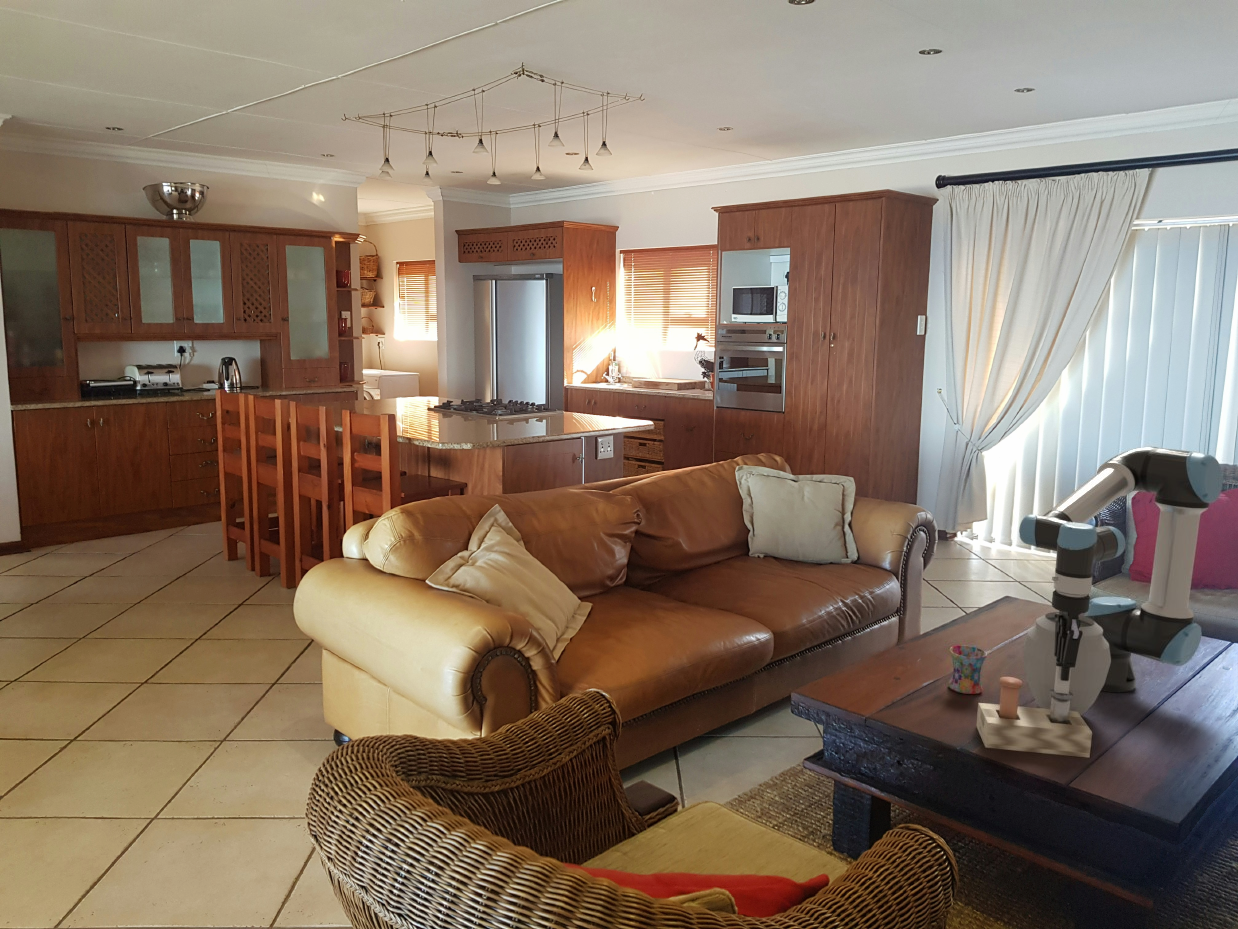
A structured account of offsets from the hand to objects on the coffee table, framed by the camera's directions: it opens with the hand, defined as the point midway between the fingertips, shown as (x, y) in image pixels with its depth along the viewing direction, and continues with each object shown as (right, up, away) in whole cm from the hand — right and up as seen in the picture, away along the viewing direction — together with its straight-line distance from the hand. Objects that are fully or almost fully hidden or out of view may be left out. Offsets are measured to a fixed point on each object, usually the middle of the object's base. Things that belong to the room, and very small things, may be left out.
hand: (1061, 691), depth 208 cm
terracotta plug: (-11, -7, +3) cm, 13 cm away
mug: (-9, -7, +33) cm, 35 cm away
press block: (-5, -12, +3) cm, 14 cm away
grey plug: (0, -9, +2) cm, 9 cm away
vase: (+9, -10, +19) cm, 23 cm away
